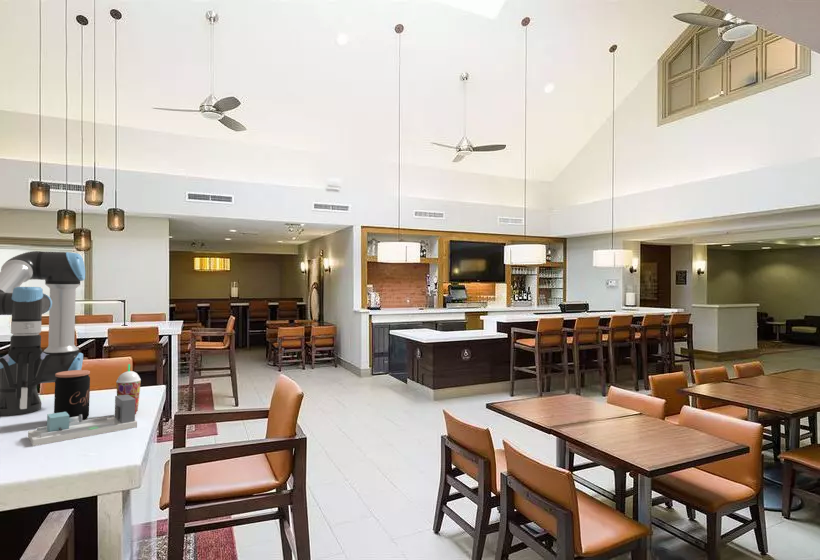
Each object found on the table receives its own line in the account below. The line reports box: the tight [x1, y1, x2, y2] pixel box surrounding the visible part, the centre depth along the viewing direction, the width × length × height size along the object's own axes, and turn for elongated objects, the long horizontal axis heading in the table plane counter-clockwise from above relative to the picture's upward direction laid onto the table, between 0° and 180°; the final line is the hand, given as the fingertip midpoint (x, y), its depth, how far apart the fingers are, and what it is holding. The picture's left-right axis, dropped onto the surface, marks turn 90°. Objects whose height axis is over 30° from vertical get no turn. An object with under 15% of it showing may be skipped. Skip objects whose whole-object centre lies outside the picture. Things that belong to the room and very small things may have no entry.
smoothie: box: [115, 363, 142, 415], centre depth 178 cm, size 8×8×20 cm
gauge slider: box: [46, 412, 82, 432], centre depth 152 cm, size 9×9×5 cm
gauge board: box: [27, 394, 138, 447], centre depth 156 cm, size 12×29×10 cm, turn 136°
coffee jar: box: [53, 369, 91, 423], centre depth 170 cm, size 11×11×18 cm
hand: (23, 408), depth 144 cm, fingers closed
